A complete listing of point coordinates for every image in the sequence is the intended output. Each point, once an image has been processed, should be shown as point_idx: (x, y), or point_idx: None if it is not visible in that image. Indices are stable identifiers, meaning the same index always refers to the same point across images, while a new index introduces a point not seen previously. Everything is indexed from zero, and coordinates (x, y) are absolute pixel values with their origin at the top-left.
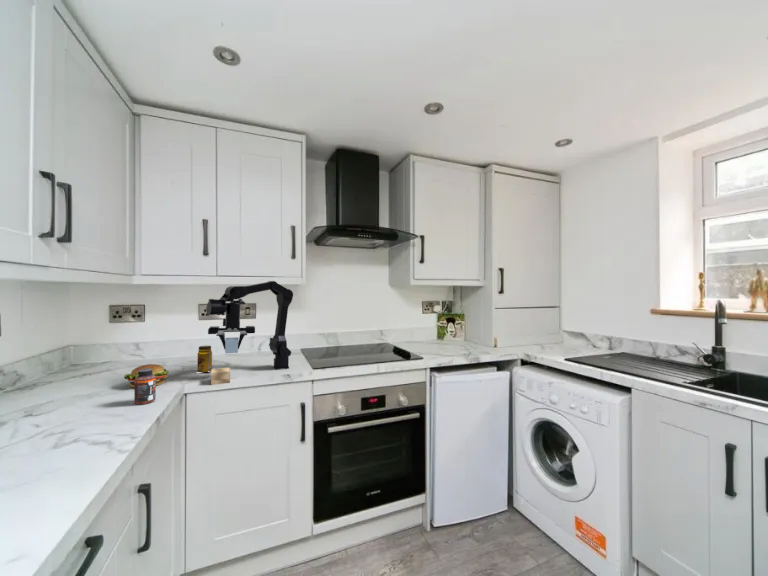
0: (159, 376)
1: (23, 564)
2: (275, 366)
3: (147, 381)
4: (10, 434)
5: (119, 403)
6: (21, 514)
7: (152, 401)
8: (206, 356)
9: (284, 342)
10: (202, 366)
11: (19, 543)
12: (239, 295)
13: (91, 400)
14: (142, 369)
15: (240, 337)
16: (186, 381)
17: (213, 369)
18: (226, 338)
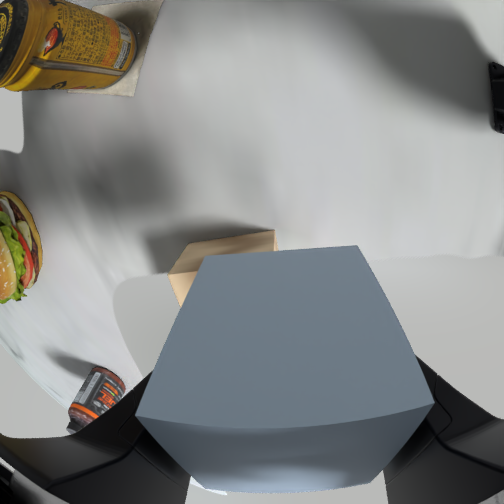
0: (25, 276)
1: (223, 494)
2: (501, 112)
3: None
4: (57, 400)
5: (70, 364)
6: (191, 482)
7: (125, 389)
8: (51, 77)
9: None
10: (79, 87)
11: (210, 490)
12: None
13: (18, 325)
14: (69, 431)
15: (399, 495)
16: (92, 232)
17: (181, 282)
18: (178, 457)
